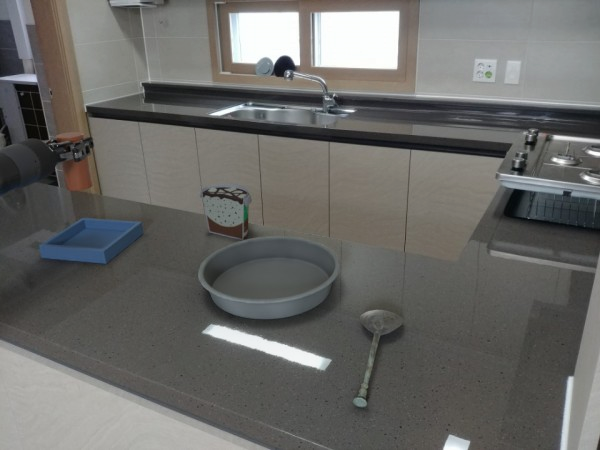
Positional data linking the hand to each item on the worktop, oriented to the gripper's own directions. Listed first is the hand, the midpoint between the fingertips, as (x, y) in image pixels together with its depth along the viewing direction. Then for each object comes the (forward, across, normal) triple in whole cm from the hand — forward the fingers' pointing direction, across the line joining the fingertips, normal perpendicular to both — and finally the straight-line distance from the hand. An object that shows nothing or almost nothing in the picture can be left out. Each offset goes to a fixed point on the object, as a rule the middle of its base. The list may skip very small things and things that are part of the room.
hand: (79, 141), depth 110 cm
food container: (+7, -30, +21) cm, 37 cm away
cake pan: (-15, -45, +21) cm, 52 cm away
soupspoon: (-31, -65, +22) cm, 75 cm away
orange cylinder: (-3, 0, +9) cm, 9 cm away
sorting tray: (-5, -3, +21) cm, 22 cm away
